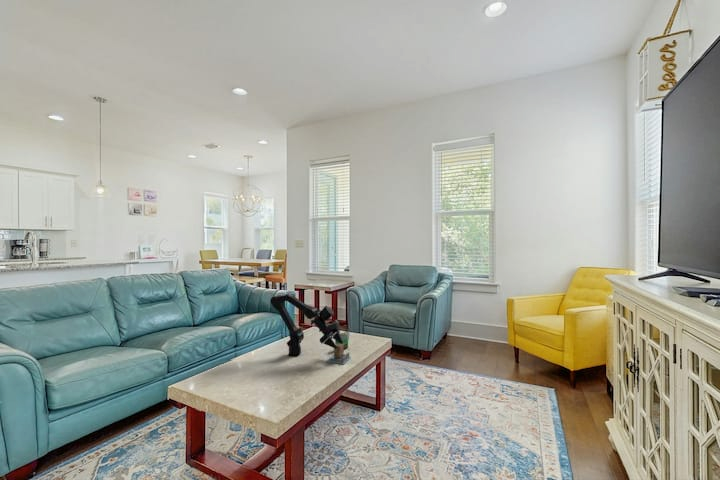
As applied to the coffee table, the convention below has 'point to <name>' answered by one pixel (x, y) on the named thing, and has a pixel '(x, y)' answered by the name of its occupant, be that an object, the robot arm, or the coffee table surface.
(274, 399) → the coffee table surface
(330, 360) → the cradle
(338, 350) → the walnut block
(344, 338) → the food container
